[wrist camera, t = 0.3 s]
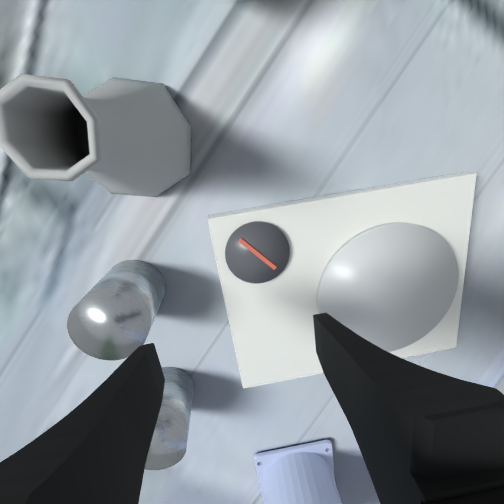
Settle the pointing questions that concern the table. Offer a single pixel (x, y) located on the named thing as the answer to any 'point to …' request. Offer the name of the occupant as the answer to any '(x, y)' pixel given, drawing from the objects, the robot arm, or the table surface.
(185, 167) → the flask
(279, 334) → the scale
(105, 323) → the cylinder
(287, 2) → the table surface
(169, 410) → the cylinder
